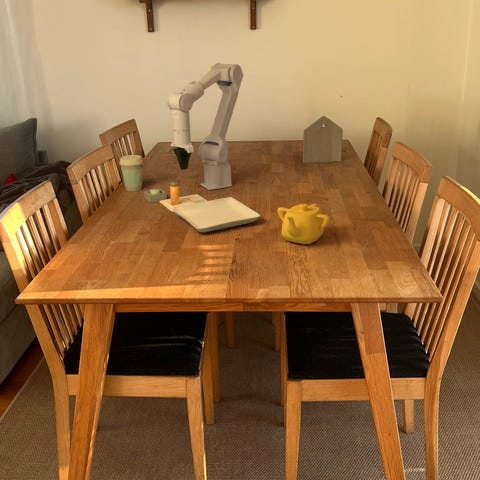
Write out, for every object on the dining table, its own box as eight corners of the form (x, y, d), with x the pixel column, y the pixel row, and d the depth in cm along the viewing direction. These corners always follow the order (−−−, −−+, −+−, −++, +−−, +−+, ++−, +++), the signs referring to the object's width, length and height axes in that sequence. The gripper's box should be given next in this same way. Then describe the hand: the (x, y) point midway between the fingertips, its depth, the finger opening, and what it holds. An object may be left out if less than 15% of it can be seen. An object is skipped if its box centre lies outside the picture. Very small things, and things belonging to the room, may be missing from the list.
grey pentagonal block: (337, 157, 249) (339, 111, 242) (341, 161, 241) (343, 115, 234) (299, 158, 248) (300, 113, 241) (303, 163, 241) (304, 116, 233)
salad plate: (198, 238, 166) (197, 227, 165) (171, 217, 183) (171, 207, 182) (262, 225, 175) (262, 214, 173) (231, 206, 192) (230, 196, 191)
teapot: (332, 247, 157) (334, 211, 153) (286, 251, 155) (287, 215, 152) (317, 229, 170) (318, 196, 166) (275, 233, 168) (275, 199, 164)
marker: (177, 201, 195) (177, 180, 192) (181, 204, 192) (180, 182, 190) (169, 203, 193) (168, 181, 191) (172, 205, 191) (171, 184, 188)
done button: (158, 196, 202) (157, 187, 201) (161, 198, 199) (161, 190, 198) (149, 197, 200) (148, 189, 199) (152, 200, 198) (151, 191, 196)
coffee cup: (140, 193, 206) (137, 160, 202) (118, 192, 208) (115, 159, 203) (149, 186, 214) (146, 154, 209) (127, 185, 216) (124, 154, 211)
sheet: (197, 195, 202) (197, 193, 202) (211, 204, 193) (211, 203, 192) (159, 202, 197) (159, 200, 196) (172, 212, 187) (172, 210, 186)
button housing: (160, 195, 204) (160, 188, 203) (166, 199, 199) (166, 192, 198) (144, 198, 201) (144, 191, 200) (150, 202, 196) (149, 195, 195)
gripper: (162, 127, 197) (165, 166, 202) (178, 134, 185) (181, 175, 190) (181, 125, 200) (184, 163, 205) (198, 132, 188) (200, 172, 193)
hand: (183, 169), depth 198 cm, fingers closed
